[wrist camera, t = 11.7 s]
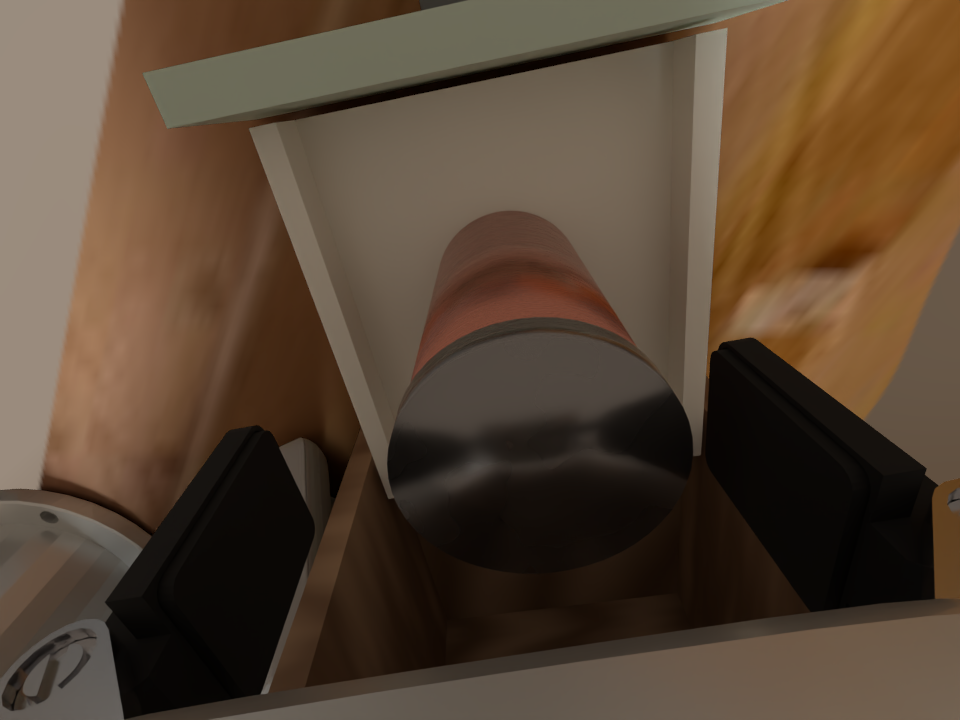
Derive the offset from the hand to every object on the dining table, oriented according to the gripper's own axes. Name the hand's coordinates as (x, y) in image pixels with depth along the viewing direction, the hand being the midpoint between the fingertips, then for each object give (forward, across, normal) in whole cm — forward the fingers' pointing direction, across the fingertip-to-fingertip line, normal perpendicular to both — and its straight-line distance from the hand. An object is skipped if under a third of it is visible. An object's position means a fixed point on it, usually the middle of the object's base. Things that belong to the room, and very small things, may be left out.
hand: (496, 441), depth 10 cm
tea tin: (+8, -1, 0) cm, 8 cm away
